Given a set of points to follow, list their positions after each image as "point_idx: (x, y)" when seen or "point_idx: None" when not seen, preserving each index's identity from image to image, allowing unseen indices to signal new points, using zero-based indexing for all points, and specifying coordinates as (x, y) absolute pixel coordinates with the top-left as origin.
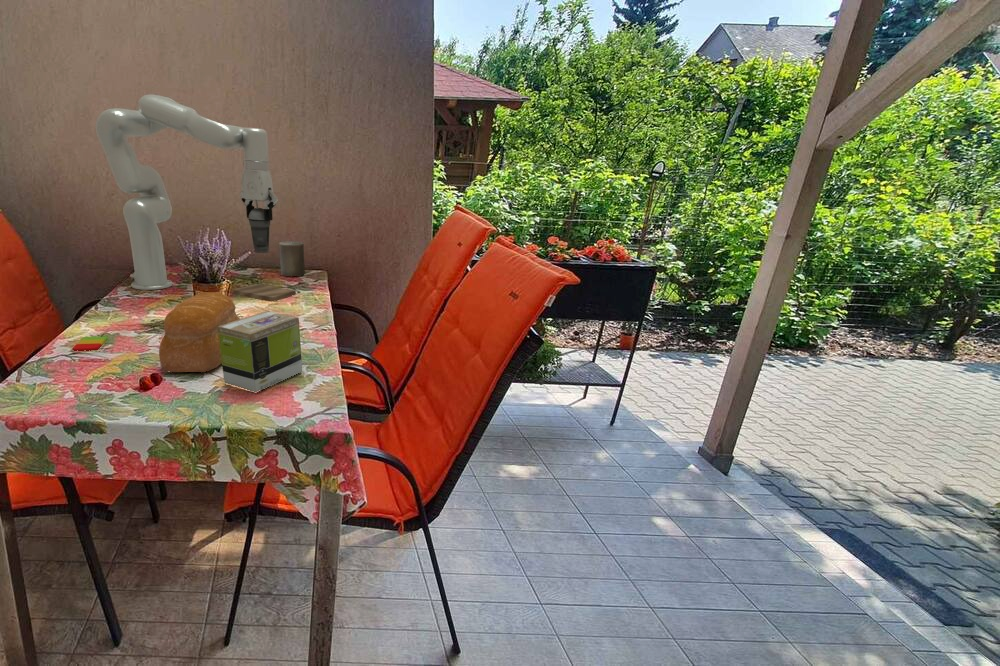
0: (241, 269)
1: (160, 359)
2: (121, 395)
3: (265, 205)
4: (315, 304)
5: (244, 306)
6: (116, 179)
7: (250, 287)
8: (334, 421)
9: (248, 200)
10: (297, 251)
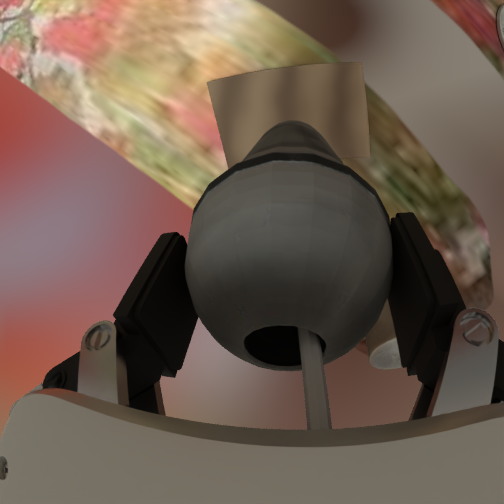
0: (490, 256)
1: None
2: None
3: (100, 357)
4: (131, 144)
5: (219, 6)
6: None
7: (348, 113)
8: None
9: (439, 407)
10: (370, 335)
